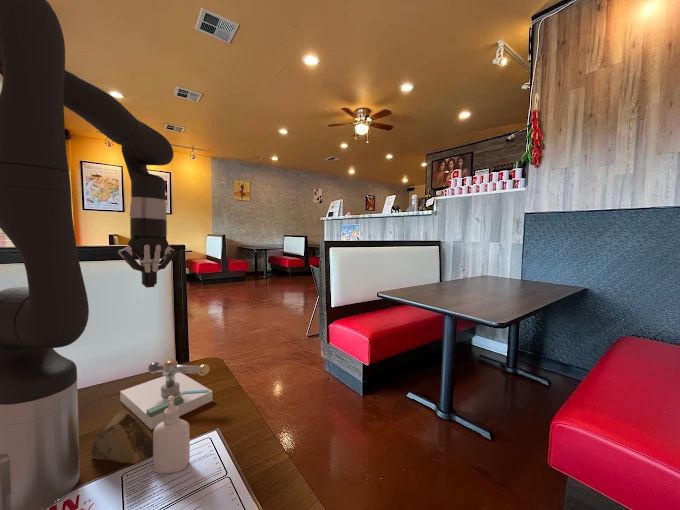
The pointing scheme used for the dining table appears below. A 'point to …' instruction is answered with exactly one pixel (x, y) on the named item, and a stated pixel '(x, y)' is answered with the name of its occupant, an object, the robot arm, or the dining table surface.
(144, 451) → the rock
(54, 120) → the robot arm
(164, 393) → the stand
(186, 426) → the eye dropper bottle
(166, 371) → the crank handle
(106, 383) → the dining table surface
